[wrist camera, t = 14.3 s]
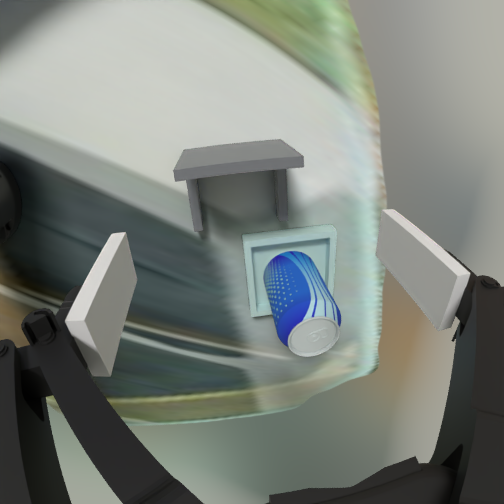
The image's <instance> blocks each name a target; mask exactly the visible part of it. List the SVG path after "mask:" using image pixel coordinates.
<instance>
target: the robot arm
mask: <svg viewBox="0 0 504 504" xmlns="http://www.w3.org/2000/svg"><path fill="white" fill-rule="evenodd" d="M21 212H22V202H21V195H20V191H19V188H18V185H17V182H16V180H15V178H14V176H13V175H12V173H11V172H10V170H9V169H8V168H7V167H6V166H5V165H4V164H3V163H2V162H0V244H1V243H3V242H5V241H6V240H7V239H8V238H9V237H10V236H11V235H12V234H13V233H14V232H15V231H16V229H17V227H18V225H19V222H20V219H21ZM376 256H377V258H378V259H379V260H380V261H381V262H382V263H383V264H384V266H385V267H386V268H387V269H388V270H389V271H390V272H391V274H392V275H393V276H394V277H395V278H396V279H397V280H398V282H399V283H400V284H401V285H402V287H403V288H404V289H405V290H406V291H407V293H408V294H409V295H410V296H411V297H412V299H413V300H414V301H415V302H416V304H417V305H418V306H419V307H420V309H421V310H422V311H423V312H424V314H425V315H426V316H427V317H428V319H429V320H430V321H431V322H432V324H433V325H434V326H435V327H436V329H437V330H438V331H440V330H444V329H447V328H450V327H451V326H452V324H453V321H454V319H455V316H456V317H457V318H458V319H459V320H460V323H459V325H458V327H457V330H456V332H455V334H454V337H453V339H452V341H454V340H455V339H456V346H455V353H454V361H453V368H452V374H451V380H450V387H449V392H448V397H447V402H446V407H445V411H444V416H443V421H442V425H441V429H440V433H439V437H438V440H437V444H436V448H435V451H434V454H433V456H432V458H431V460H430V462H429V463H420V464H419V463H418V461H417V459H416V457H412V458H409V459H407V460H404V461H402V462H399V463H396V464H393V465H391V466H388V467H385V468H383V469H381V470H380V471H378V472H377V473H375V474H373V475H372V476H370V477H368V478H367V479H365V480H363V481H361V482H360V483H358V484H356V485H354V486H352V487H348V488H308V489H303V490H297V491H292V492H286V493H280V494H274V495H269V503H266V504H504V287H501V286H500V284H499V283H498V282H497V281H496V280H495V279H493V278H490V277H489V276H483V275H482V276H478V277H477V276H476V275H475V274H474V273H473V272H472V271H471V270H470V269H469V268H467V267H466V266H465V265H464V264H463V263H462V262H461V261H460V260H458V259H457V258H456V257H455V256H453V254H451V253H450V252H448V251H447V250H445V249H443V248H441V247H440V246H439V245H438V244H436V243H435V242H434V241H433V240H432V239H431V238H429V237H428V236H427V235H426V234H424V233H423V232H422V231H421V230H419V229H418V228H417V227H416V226H415V225H413V224H412V223H411V222H409V221H408V220H407V219H406V218H404V217H403V216H402V215H400V214H399V213H398V212H396V211H395V210H394V209H390V210H382V212H381V220H380V228H379V235H378V242H377V249H376ZM136 282H137V276H136V272H135V269H134V265H133V261H132V256H131V252H130V248H129V244H128V239H127V235H126V232H123V233H115V234H111V236H110V238H109V239H108V241H107V243H106V244H105V246H104V248H103V249H102V251H101V253H100V255H99V256H98V258H97V260H96V262H95V264H94V265H93V267H92V269H91V271H90V273H89V275H88V276H87V278H86V280H85V282H84V284H83V285H82V286H75V287H74V288H73V289H72V290H71V291H70V292H69V293H68V294H67V296H66V297H65V299H64V302H63V303H62V305H61V307H60V309H59V310H58V312H57V314H56V316H54V314H53V312H52V311H51V310H50V309H46V308H43V309H38V310H35V311H33V312H31V313H30V314H28V315H27V316H26V317H25V318H24V320H23V322H22V324H21V327H22V330H23V332H24V334H25V336H26V338H27V339H28V341H29V343H30V345H28V346H24V347H20V348H16V346H15V344H14V342H12V341H11V340H9V339H4V340H1V341H0V504H72V503H71V501H70V498H69V495H68V491H67V488H66V485H65V482H64V478H63V476H62V471H61V468H60V464H59V460H58V456H57V452H56V448H55V444H54V440H53V435H52V430H51V425H50V420H49V415H48V409H47V403H46V397H47V396H51V395H54V397H55V399H56V401H57V403H58V405H59V407H60V409H61V411H62V413H63V414H64V416H65V418H66V419H67V422H68V423H69V425H70V427H71V429H72V430H73V432H74V434H75V435H76V437H77V439H78V440H79V442H80V443H81V445H82V447H83V448H84V450H85V452H86V453H87V455H88V456H89V458H90V459H91V461H92V462H93V464H94V465H95V467H96V468H97V470H98V471H99V472H100V474H101V475H102V477H103V478H104V479H105V481H106V482H107V483H108V485H109V486H110V488H111V489H112V490H113V492H114V493H115V494H116V495H117V497H118V498H119V499H120V501H121V502H122V503H123V504H203V503H202V502H201V501H200V500H199V499H198V498H197V497H196V496H195V495H194V494H193V493H191V492H190V491H189V490H188V489H187V488H186V487H185V486H184V485H183V484H182V483H181V482H179V481H178V480H177V479H175V478H174V477H173V476H171V475H170V473H169V472H168V471H167V470H166V469H165V468H164V467H163V466H162V465H161V464H160V463H159V462H158V461H157V460H156V459H155V458H154V457H153V455H152V454H151V453H150V452H149V451H148V450H147V449H146V448H145V447H144V446H143V444H142V443H141V442H140V441H139V440H138V438H137V437H136V436H135V435H134V434H133V433H132V431H131V430H130V429H129V428H128V426H127V425H126V424H125V423H124V421H123V420H122V419H121V418H120V416H119V415H118V414H117V413H116V411H115V410H114V409H113V407H112V406H111V405H110V403H109V402H108V401H107V399H106V398H105V397H104V395H103V394H102V393H101V391H100V390H99V388H98V387H97V386H96V384H95V383H94V381H93V380H92V378H91V377H90V375H89V374H88V372H87V371H86V369H87V367H88V368H89V370H90V372H91V374H92V376H102V377H111V373H112V369H113V365H114V361H115V357H116V353H117V349H118V345H119V341H120V337H121V334H122V330H123V326H124V323H125V319H126V316H127V312H128V309H129V305H130V302H131V299H132V295H133V292H134V289H135V286H136Z"/></svg>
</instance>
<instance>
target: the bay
mask: <svg viewBox="0 0 504 504" xmlns="http://www.w3.org/2000/svg"><path fill="white" fill-rule="evenodd" d="M300 167H304V156H303V155H301V154H300V153H299V152H297V151H296V150H295V149H293V148H292V147H291V146H289V145H288V144H286V143H285V142H284V141H282V140H281V139H278V140H265V141H254V142H243V143H234V144H225V145H217V146H209V147H201V148H194V149H187V150H184V151H183V153H182V155H181V157H180V158H179V160H178V162H177V164H176V166H175V168H174V170H173V171H174V178H175V182H176V181H183V180H186V182H187V188H188V195H189V201H190V207H191V213H192V219H193V225H194V231H195V232H197V231H203V217H202V210H201V204H200V197H199V190H198V183H197V178H205V177H212V176H220V175H229V174H237V173H246V172H256V171H266V170H274V179H275V195H276V213H277V217H278V219H279V221H288V205H287V182H286V169H288V168H300Z"/></svg>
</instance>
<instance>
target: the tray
mask: <svg viewBox="0 0 504 504" xmlns="http://www.w3.org/2000/svg"><path fill="white" fill-rule="evenodd" d="M336 237H337V230H336V229H335V228H334V227H333V226H332V224H328V225H319V226H310V227H301V228H292V229H284V230H275V231H267V232H258V233H250V234H242V241H243V251H244V260H245V270H246V279H247V288H248V297H249V306H250V313H251V317H257V316H264V315H271V314H272V311H271V307H270V303H269V299H268V295H267V292H266V288H265V284H264V279H263V274H264V270H265V267H266V266H267V264H268V263H269V261H270V260H271V259H272V258H274V257H275V256H277V255H278V254H280V253H283V252H287V251H299V252H303V253H305V254H306V255H308V256H309V257H310V258H311V259H312V260H313V262H314V264H315V266H316V267H317V269H318V271H319V273H320V275H321V277H322V279H323V280H324V282H325V284H326V286H327V288H328V290H329V292H330V294H331V295H332V297H333V289H334V274H335V257H336Z"/></svg>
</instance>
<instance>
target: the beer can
mask: <svg viewBox="0 0 504 504" xmlns="http://www.w3.org/2000/svg"><path fill="white" fill-rule="evenodd" d="M263 279H264V284H265V288H266V292H267V295H268V299H269V303H270V307H271V311H272V315H273V319H274V322H275V326H276V330H277V334H278V337H279V339H280V340H281V342H282V343H283V344H284V345H286V346H287V347H289V348H290V350H291V351H292V352H293V353H294V354H296V355H299V356H303V357H311V356H316V355H319V354H322V353H324V352H326V351H327V350H329V349H330V348H331V347H333V346H334V344H335V343H336V342H337V340H338V338H339V335H340V328H339V327H340V324H341V314H340V311H339V309H338V307H337V305H336V303H335V301H334V299H333V297H332V295H331V294H330V292H329V290H328V288H327V286H326V284H325V282H324V280H323V279H322V277H321V275H320V273H319V271H318V269H317V267H316V266H315V264H314V262H313V260H312V259H311V258H310V257H309V256H308V255H306V254H305V253H303V252H299V251H287V252H283V253H280V254H278V255H277V256H275V257H274V258H272V259H271V260H270V261H269V263H268V264H267V266H266V267H265V270H264V274H263Z"/></svg>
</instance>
